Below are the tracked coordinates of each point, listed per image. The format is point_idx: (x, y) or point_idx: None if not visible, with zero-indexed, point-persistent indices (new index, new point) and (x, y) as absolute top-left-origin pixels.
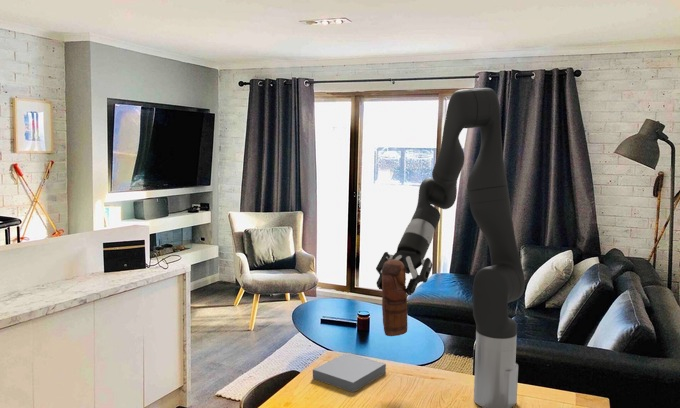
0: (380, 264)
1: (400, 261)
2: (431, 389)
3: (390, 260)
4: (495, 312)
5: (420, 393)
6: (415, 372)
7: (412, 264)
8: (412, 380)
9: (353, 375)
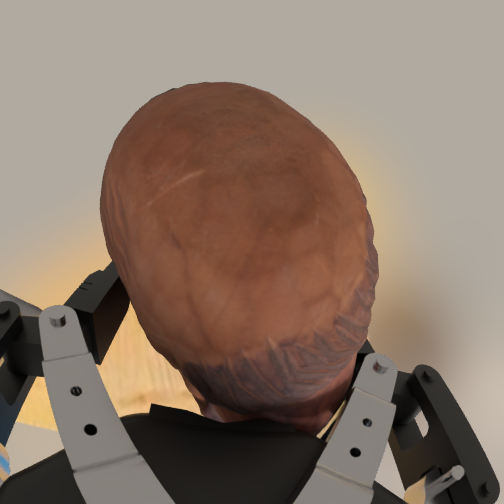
0: (441, 402)
1: (150, 183)
2: (125, 345)
3: (292, 130)
4: None
5: (137, 319)
6: (182, 408)
7: (55, 410)
8: (172, 369)
9: None
